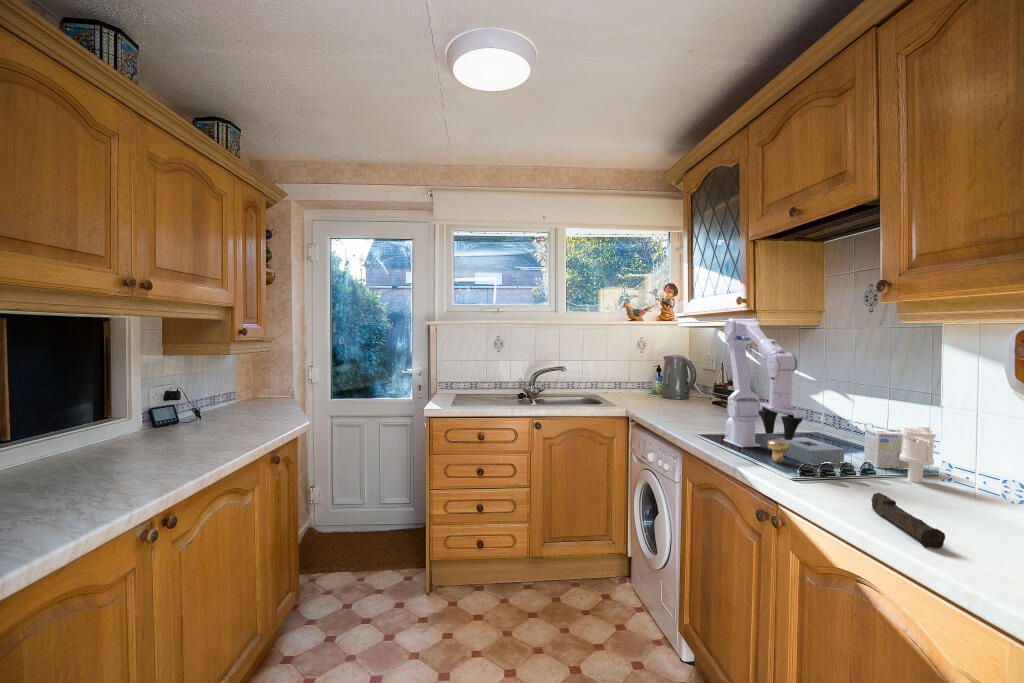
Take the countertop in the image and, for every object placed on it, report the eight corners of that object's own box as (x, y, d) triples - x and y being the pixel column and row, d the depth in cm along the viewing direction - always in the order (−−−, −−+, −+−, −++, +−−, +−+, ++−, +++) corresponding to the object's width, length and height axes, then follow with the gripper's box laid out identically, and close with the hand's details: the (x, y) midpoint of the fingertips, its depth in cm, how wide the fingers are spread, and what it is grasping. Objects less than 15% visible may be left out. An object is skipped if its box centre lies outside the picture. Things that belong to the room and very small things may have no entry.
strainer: (939, 484, 123) (942, 429, 122) (920, 486, 121) (923, 430, 120) (909, 475, 130) (913, 423, 129) (891, 477, 128) (894, 424, 127)
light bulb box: (899, 463, 141) (901, 428, 141) (916, 470, 135) (918, 434, 134) (862, 461, 142) (864, 427, 142) (877, 468, 136) (879, 432, 135)
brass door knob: (762, 459, 143) (763, 440, 143) (778, 458, 144) (779, 439, 144) (776, 464, 138) (777, 445, 137) (792, 463, 139) (793, 444, 139)
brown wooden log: (946, 551, 87) (947, 527, 87) (921, 548, 88) (923, 524, 88) (886, 511, 106) (887, 491, 105) (866, 509, 106) (867, 489, 106)
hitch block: (774, 452, 151) (775, 438, 151) (805, 450, 154) (806, 437, 153) (810, 465, 138) (811, 450, 137) (843, 463, 140) (844, 449, 140)
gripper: (752, 389, 146) (750, 431, 147) (788, 396, 132) (786, 443, 133) (771, 388, 148) (769, 430, 148) (809, 396, 133) (806, 442, 134)
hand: (778, 436), depth 141 cm, fingers open, 7 cm apart
